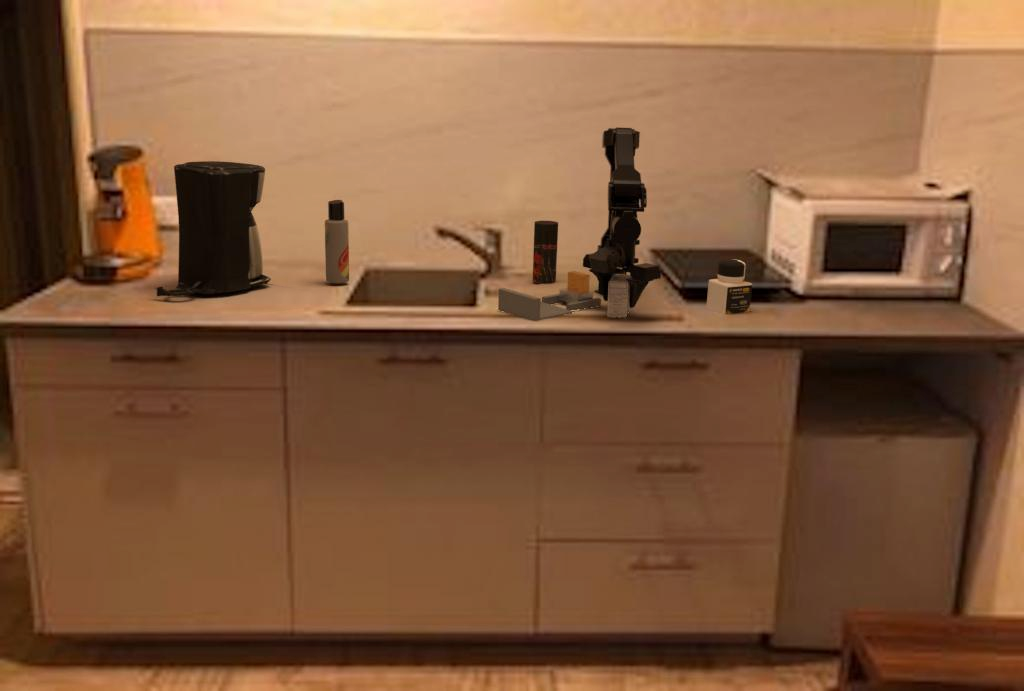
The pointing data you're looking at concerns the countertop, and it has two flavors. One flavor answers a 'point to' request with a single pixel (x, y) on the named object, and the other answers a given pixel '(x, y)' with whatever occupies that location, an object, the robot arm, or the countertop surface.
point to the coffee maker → (217, 227)
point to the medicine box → (618, 296)
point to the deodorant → (545, 251)
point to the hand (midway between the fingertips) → (618, 304)
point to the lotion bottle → (336, 244)
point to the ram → (576, 288)
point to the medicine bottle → (729, 289)
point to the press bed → (538, 305)
